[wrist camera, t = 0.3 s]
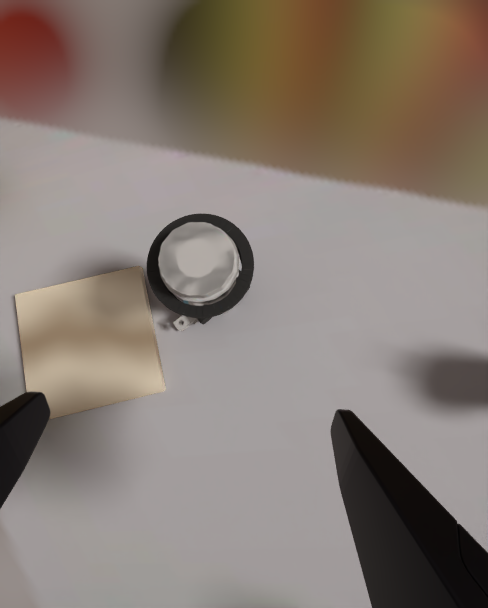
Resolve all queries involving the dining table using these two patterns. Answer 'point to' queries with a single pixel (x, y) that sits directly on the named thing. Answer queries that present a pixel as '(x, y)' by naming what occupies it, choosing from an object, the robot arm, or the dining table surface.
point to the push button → (200, 267)
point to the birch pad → (90, 342)
